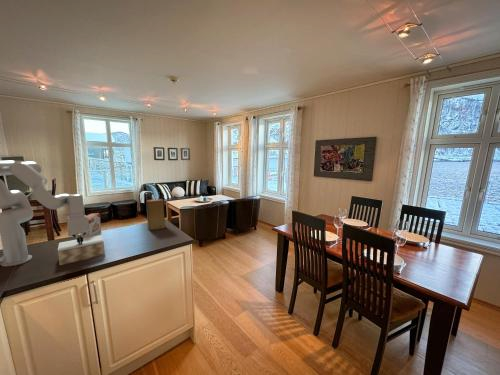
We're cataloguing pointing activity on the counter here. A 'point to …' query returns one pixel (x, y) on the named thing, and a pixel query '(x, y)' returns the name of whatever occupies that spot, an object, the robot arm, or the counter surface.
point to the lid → (80, 243)
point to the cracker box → (93, 225)
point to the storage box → (81, 253)
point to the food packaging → (155, 214)
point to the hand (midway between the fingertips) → (80, 243)
